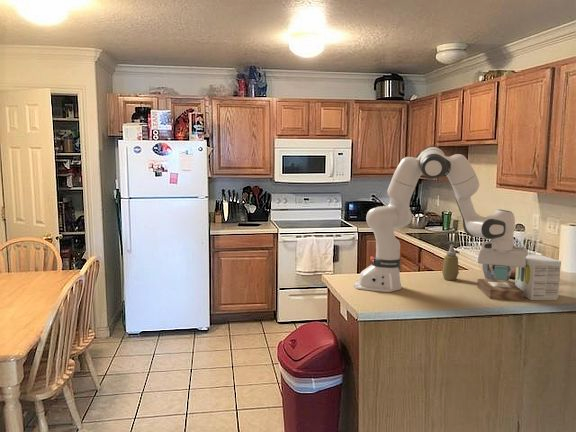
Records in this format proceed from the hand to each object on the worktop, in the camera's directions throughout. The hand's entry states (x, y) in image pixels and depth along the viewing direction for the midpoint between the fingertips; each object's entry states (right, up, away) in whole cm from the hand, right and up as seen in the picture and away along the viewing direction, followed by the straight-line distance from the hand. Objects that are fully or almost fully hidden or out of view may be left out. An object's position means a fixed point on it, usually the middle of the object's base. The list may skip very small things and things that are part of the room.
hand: (500, 274), depth 216 cm
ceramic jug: (+22, -5, +35) cm, 41 cm away
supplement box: (+15, -10, -2) cm, 18 cm away
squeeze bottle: (-14, -6, +26) cm, 30 cm away
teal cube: (0, -2, 0) cm, 2 cm away
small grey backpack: (+7, -7, +22) cm, 25 cm away
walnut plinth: (0, -9, +1) cm, 9 cm away
